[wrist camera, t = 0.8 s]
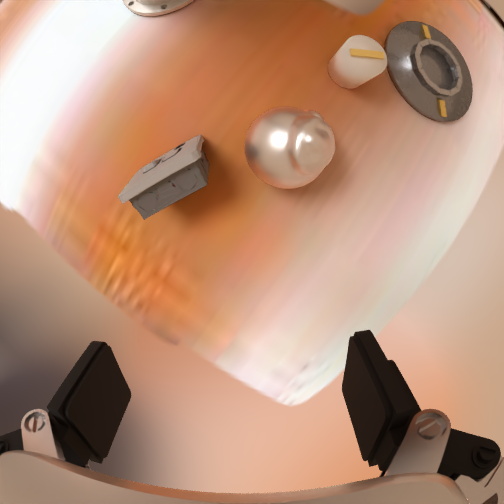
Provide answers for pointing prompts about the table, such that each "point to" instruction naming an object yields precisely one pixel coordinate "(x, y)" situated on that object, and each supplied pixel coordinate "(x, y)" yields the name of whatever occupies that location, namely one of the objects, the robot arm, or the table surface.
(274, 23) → the table surface
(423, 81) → the socket
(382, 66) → the white rounded cylinder
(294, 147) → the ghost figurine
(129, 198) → the electrical switch
